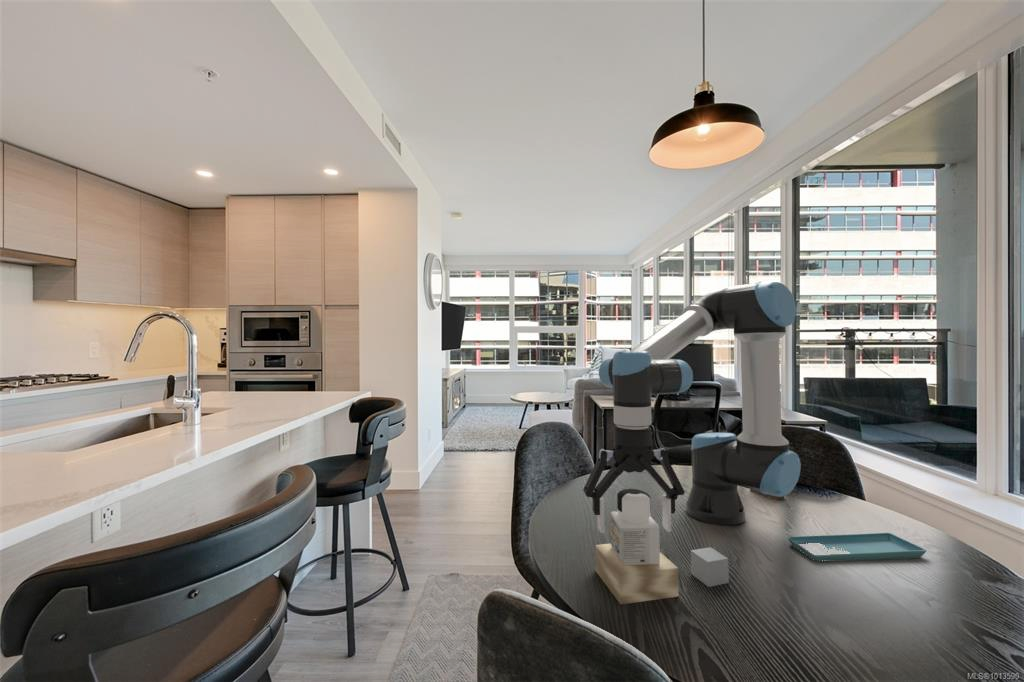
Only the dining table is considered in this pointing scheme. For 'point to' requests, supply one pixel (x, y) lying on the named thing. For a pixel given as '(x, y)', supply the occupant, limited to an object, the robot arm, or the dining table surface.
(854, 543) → the teal serving tray
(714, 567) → the slate cube
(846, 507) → the dining table surface
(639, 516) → the container
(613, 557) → the maple block
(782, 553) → the dining table surface
